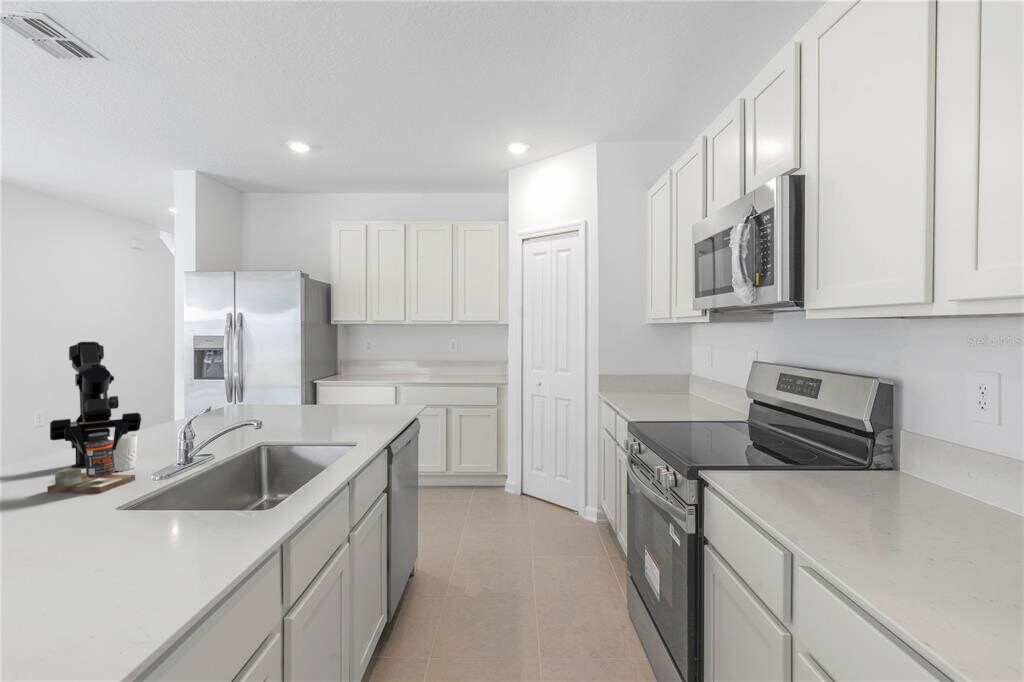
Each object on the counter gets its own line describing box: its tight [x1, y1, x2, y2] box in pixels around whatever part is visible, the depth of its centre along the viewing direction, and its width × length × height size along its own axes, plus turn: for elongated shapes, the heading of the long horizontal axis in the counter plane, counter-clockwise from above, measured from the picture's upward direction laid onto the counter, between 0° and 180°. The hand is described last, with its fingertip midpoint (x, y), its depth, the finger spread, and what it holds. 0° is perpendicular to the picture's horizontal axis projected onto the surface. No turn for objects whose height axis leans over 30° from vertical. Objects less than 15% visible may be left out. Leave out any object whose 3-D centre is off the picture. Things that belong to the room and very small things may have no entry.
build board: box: [46, 467, 136, 494], centre depth 130 cm, size 14×11×5 cm
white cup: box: [108, 433, 139, 472], centre depth 146 cm, size 8×8×10 cm
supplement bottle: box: [85, 432, 115, 478], centre depth 128 cm, size 6×6×11 cm
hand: (99, 451), depth 127 cm, fingers closed on supplement bottle, 6 cm apart
